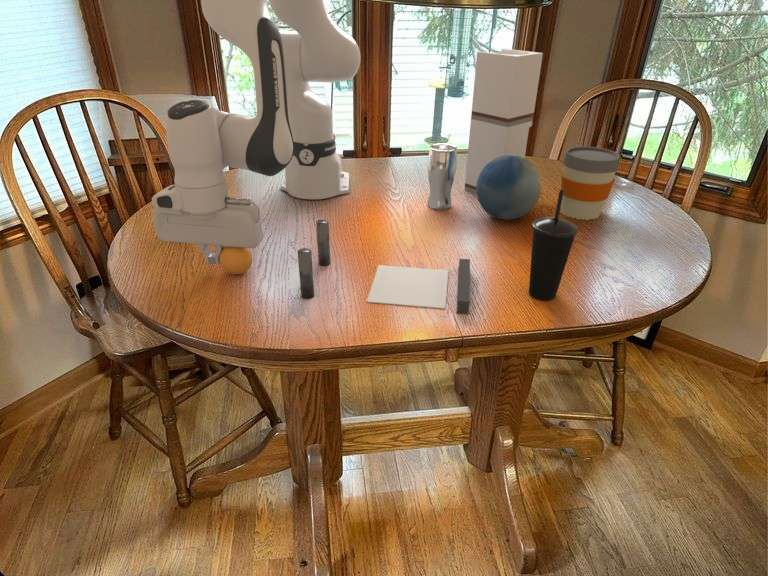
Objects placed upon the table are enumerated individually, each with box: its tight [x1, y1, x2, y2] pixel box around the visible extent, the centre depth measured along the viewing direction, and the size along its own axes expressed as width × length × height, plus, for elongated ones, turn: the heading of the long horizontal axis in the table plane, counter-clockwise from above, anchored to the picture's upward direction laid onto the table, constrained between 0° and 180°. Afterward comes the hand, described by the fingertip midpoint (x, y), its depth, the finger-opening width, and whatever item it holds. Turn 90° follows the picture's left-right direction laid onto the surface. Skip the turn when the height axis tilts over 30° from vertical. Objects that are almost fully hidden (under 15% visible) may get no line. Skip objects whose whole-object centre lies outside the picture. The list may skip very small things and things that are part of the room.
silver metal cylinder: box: [427, 143, 458, 211], centre depth 131 cm, size 7×7×15 cm
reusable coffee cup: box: [560, 146, 621, 221], centre depth 128 cm, size 13×13×15 cm
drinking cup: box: [528, 189, 579, 302], centre depth 92 cm, size 8×8×20 cm
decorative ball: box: [475, 155, 542, 220], centre depth 125 cm, size 15×15×15 cm
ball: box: [220, 246, 253, 275], centre depth 102 cm, size 6×6×6 cm
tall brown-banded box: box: [463, 48, 544, 195], centre depth 136 cm, size 11×11×35 cm
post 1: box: [297, 247, 315, 300], centre depth 94 cm, size 2×2×9 cm
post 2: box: [315, 219, 331, 267], centre depth 105 cm, size 2×2×9 cm
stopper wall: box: [456, 258, 471, 315], centre depth 98 cm, size 16×2×2 cm, turn 172°
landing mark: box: [366, 264, 449, 310], centre depth 99 cm, size 14×14×1 cm
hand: (214, 263), depth 103 cm, fingers closed
